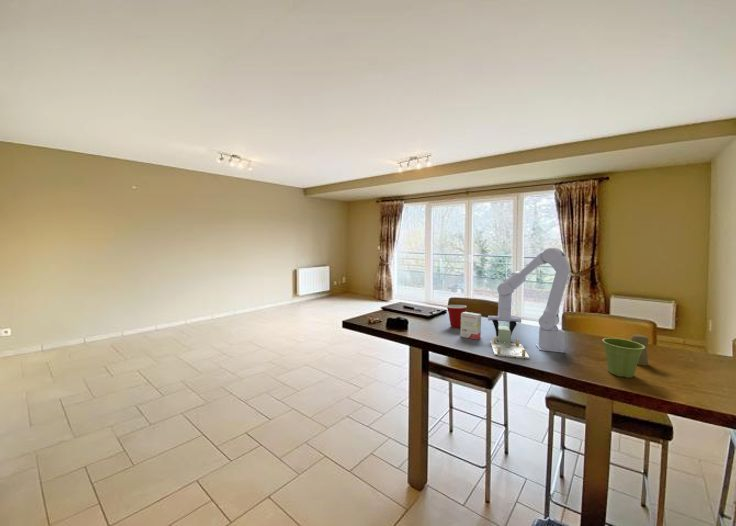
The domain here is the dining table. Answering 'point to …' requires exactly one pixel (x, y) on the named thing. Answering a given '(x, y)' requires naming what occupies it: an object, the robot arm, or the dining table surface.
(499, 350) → the chassis plate
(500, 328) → the board block
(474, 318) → the ink box
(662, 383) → the dining table surface
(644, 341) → the grey upright block
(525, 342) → the dining table surface
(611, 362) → the plant pot
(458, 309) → the plastic cup
